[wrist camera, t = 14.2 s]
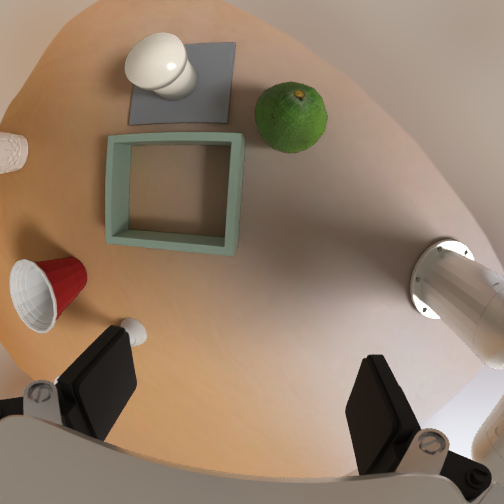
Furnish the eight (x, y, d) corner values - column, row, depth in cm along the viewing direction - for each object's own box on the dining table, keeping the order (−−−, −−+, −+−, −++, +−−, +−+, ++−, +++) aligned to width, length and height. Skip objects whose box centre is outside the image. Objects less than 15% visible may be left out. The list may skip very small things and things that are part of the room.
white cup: (34, 157, 37) (-6, 159, 28) (13, 181, 39) (-25, 187, 29) (25, 123, 36) (-13, 120, 26) (5, 148, 37) (-32, 149, 27)
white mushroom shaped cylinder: (206, 59, 32) (189, 30, 23) (197, 105, 33) (176, 85, 25) (158, 61, 32) (132, 36, 24) (149, 105, 34) (118, 88, 25)
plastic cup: (94, 240, 40) (44, 261, 28) (104, 304, 43) (63, 339, 31) (48, 240, 41) (0, 259, 29) (59, 299, 43) (18, 327, 32)
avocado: (331, 128, 33) (356, 107, 22) (287, 167, 35) (294, 163, 24) (287, 85, 32) (293, 47, 21) (243, 123, 34) (229, 100, 23)
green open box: (245, 139, 35) (241, 133, 30) (238, 246, 38) (232, 256, 33) (126, 139, 36) (108, 135, 31) (123, 235, 39) (105, 243, 34)
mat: (235, 44, 31) (235, 42, 31) (227, 123, 34) (227, 122, 34) (141, 51, 32) (140, 50, 31) (130, 125, 35) (128, 124, 35)
